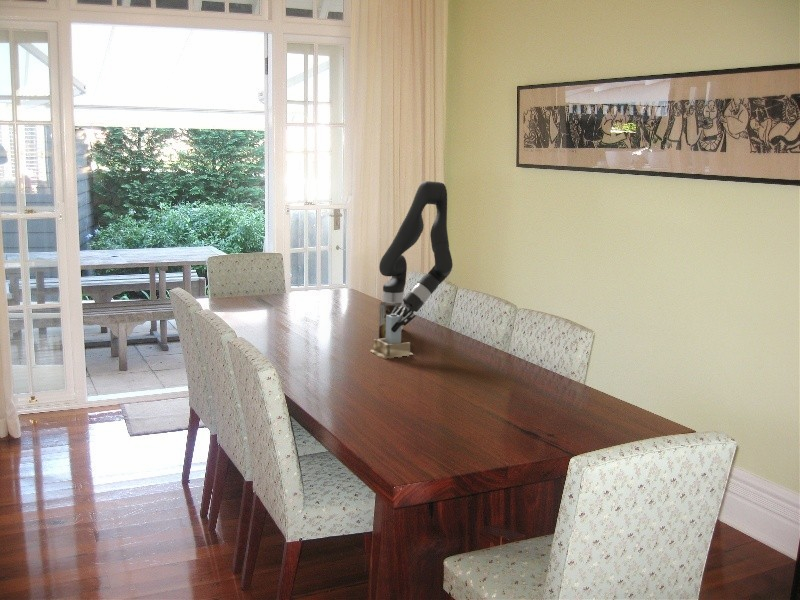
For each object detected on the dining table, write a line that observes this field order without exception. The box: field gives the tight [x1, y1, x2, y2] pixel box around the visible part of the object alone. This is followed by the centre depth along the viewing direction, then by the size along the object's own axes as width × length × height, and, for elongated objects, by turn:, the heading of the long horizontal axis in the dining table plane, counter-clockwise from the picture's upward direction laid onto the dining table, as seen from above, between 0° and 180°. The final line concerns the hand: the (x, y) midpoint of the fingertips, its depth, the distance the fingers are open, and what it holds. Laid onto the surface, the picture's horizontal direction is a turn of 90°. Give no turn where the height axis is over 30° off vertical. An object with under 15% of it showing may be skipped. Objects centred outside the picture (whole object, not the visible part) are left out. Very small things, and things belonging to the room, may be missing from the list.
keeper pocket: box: [369, 338, 414, 360], centre depth 350 cm, size 12×13×5 cm
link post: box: [385, 314, 402, 344], centre depth 349 cm, size 4×4×15 cm
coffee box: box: [378, 301, 402, 339], centre depth 370 cm, size 9×6×16 cm
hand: (389, 329), depth 348 cm, fingers closed on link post, 4 cm apart
